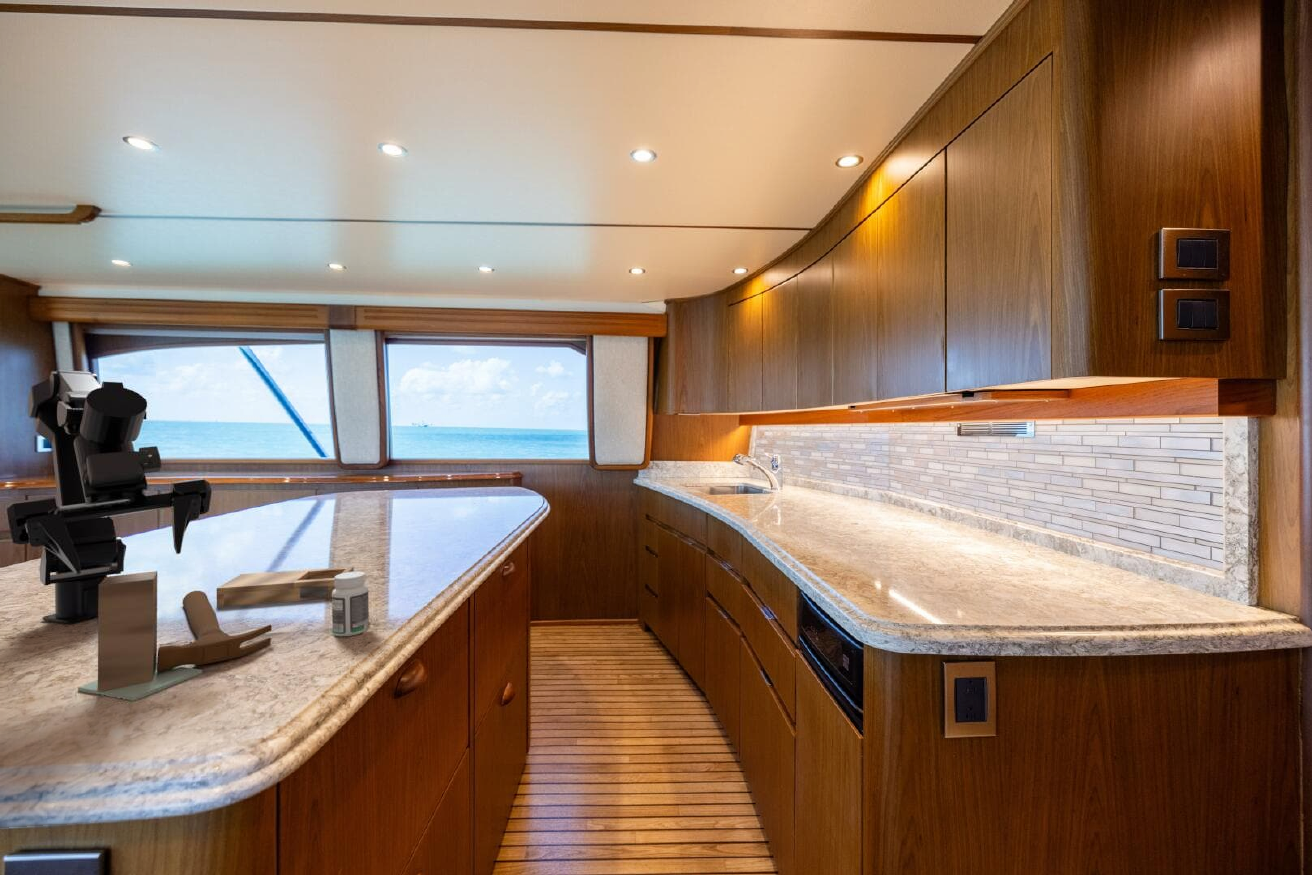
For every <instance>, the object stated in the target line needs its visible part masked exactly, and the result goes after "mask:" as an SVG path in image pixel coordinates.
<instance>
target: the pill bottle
mask: <svg viewBox="0 0 1312 875" xmlns="http://www.w3.org/2000/svg"><path fill="white" fill-rule="evenodd" d="M365 583H366V573H365V572H364V571H354V572H347V573H342V574H339V575H336V576H335V578H334V585H335V587H336V589H334V590H333V592H332V598H331V610H332V611H331V616H332V617H331V618H332V619H331V620H332V624H331V625H332V635H334V636H336V637H350V636H351V637H352V636H356V635H359V634H361V633H364V632H366V631H367V630H368V629H369V626H370V619H369V618H370V616H369V615H370V612H369V609H370V608H369V604H370V603H369V587H368V586H367V585H366V584H365Z"/></svg>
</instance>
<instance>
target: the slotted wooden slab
mask: <svg viewBox="0 0 1312 875" xmlns="http://www.w3.org/2000/svg"><path fill="white" fill-rule="evenodd" d="M354 569H355V567H354V566H345V567H332V568H331V567H329V568H316V569H301V570H297V569H296V570H284V571H269V572H255V573H254V572H252V573H240V574H239V575H238V576H236V577H233V579H231V580H229V581H227V582H225V583H224V584H222V585H220V586H219V587H216V607H217V608H221V607H231V606H233V607H234V606H235V607H236V606H246V605H257V604H259V605H260V604H270V603H284V602H295V601H296V602H297V601H307V600H320V599H332V592H333V590H334V589H336V587H335V585H334V578H335V576H336V575H339V574H342V573H347V572H355V570H354Z"/></svg>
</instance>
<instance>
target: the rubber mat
mask: <svg viewBox="0 0 1312 875" xmlns="http://www.w3.org/2000/svg"><path fill="white" fill-rule="evenodd" d="M201 674H203V669H197V668H191V667H185V666H178V667H175V668H173V669H170V670H166V671H161V672H157V668H156V671H155V675H154V678H153V681H150V682H145V683H140V684H135V685H130V686H126V687H121V688H116V689H111V690H106V691H101V692H98V679H97V680H95V681H91V682H88V683H85V684H83V685H80V686H78V687H77V691H78V692H81V693H82V692H83V693H89V694H93V693H96V694H95V695H98V694H101V695H100V696H104V695H106V696H105V697H109V696H110V697H111V698H115V697H119V698H118V699H120V698H123V699H122V700H125V699H127V700H126V701H131V700H132V702H135V701H138V700H139V698H140V699H142V698H145V697H147V696H149V695H151V694H154V693H157V692H159V691H161V690H165V689H166V688H167V689H168V688H169V687H172V686H174V685H176V684H180V683H181V682H184V681H186V680H188V679H189V680H190V679H192V678H194V677H196V676H199V675H201ZM110 697H109V698H110ZM124 698H125V699H124ZM134 700H135V701H134Z"/></svg>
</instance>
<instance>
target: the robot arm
mask: <svg viewBox="0 0 1312 875" xmlns="http://www.w3.org/2000/svg"><path fill="white" fill-rule="evenodd" d="M28 396H29V397H28V402H27V409H28V411H27V413H28V418H29V419H34V424H35V431H36V434H39V436H41V437H43V438H44V439H45V440H46V441H47V442H49V443H50V444H51V449H52V451H51V452H52V458H53V459H52V460H53V461H52V462H53V466H54V467H53V468H54V478H55V479H54V480H55V485H56V496H57V501H56V497H55V496H50V497H42V498H35V499H27V500H19V501H13V502H11V503H10V504H9V505H8V506H7V507H6V513H7V520H8V525H9V530H10V535H11V539H12V544H16V545H26V544H29V546H30V547H32V548H38V547H42V551H41V556H40V562H39V580H40V583H42V585H43V586H50V585H54V595H55V596H54V599H55V600H54V604H55V607H54V609H55V610H54V611H55V613H51V614H48V615H44V616H42V621H47V622H55V623H61V624H62V623H63V624H73V623H77V622H81V621H84V620H89V619H92V618H96V617H98V596H99V584H100V583H101V582H102V581H103V580H104V578H105V577H108V576H113V575H122V573H123V572H124V570H125V568H124V567H125V565H124V564H125V561H124V560H125V556H126V550H127V545H126V544H125V543H123V541H122V538H121V536H117V534H116V528H115V525H114V523H115V522H114V519H112V517H118V516H123V515H130V514H139V513H143V512H144V513H145V512H150V511H158V510H163V509H164V510H165V509H171V514H172V515H171V527H172V539H173V548H174V550H175V554H176V555H179V554H181V552H182V548H183V542H184V539H185V538H184V537H185V533H186V531H187V528H188V526H189V524H190V522H192V521H195V520H198V519H199V517H200V515H205V514H207V513H208V512H210V504H211V500H212V492H213V491H212V488H211V484H210V482H208V481H207V480H206V479H204V478H203V477H202V478H195V479H187V480H179V481H177V480H176V481H171V483H170V492H166V493H165V492H164V493H158V494H152V495H151V494H150V495H147V494H146V491H145V490H148V480H147V478H146V474H150V473H159V472H160V471H161V469H162V466H163V465H162V460H161V455H160V452H159V448H158V446H156V445H155V446H154V445H153V446H144V447H139V448H138V450H135V448H134V444H133V442H135V441H137V439H138V438H139V435H140V432H141V429H142V425H143V422H144V420H147V408H148V401H147V399H146V398H144V396H143V395H141V394H140V393H138V392H136V391H134V390H131V389H129V388H126V387H124V383H123V382H120V381H118V382H117V381H102V383H101V384H100V383H99V382H98V375H97V374H96V373H92V372H91V371H82V370H81V371H79V370H64V369H62V370H61V369H58V370H56V371H50V375H49V378H46V379H45V380H43V381H41V382H39V383H37V384H34V385H33V386H31V387H30V392H29V395H28ZM57 504H58V506H57ZM52 573H55V574H52Z"/></svg>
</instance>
